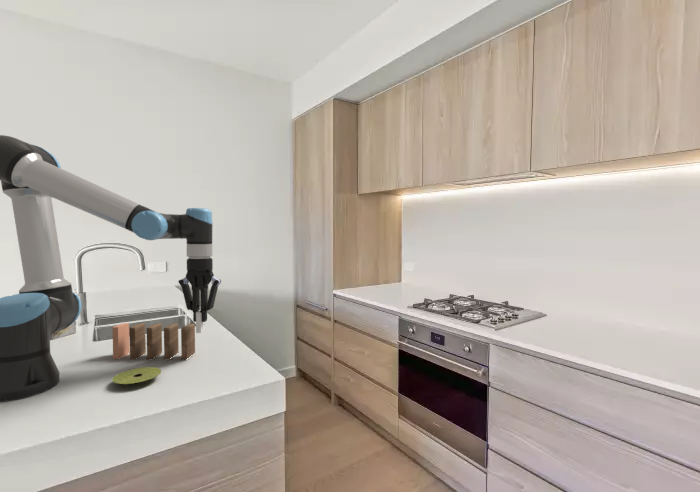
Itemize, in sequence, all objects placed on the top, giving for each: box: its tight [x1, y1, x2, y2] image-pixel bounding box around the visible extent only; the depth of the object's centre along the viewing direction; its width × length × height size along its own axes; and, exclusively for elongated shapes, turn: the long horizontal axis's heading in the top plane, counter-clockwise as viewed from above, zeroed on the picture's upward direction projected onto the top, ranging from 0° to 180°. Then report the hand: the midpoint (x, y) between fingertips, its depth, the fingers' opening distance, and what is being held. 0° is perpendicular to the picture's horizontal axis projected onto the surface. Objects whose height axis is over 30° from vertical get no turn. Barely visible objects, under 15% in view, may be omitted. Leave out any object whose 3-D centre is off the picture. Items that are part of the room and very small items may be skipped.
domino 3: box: [146, 323, 163, 360], centre depth 115 cm, size 2×5×10 cm, turn 178°
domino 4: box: [163, 323, 180, 360], centre depth 115 cm, size 2×5×10 cm, turn 178°
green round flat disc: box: [112, 366, 162, 385], centre depth 96 cm, size 11×11×2 cm
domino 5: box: [180, 323, 196, 360], centre depth 114 cm, size 2×5×10 cm, turn 177°
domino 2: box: [129, 322, 147, 360], centre depth 115 cm, size 2×5×10 cm, turn 177°
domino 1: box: [112, 322, 130, 360], centre depth 115 cm, size 2×5×10 cm, turn 177°
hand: (200, 331), depth 114 cm, fingers closed
